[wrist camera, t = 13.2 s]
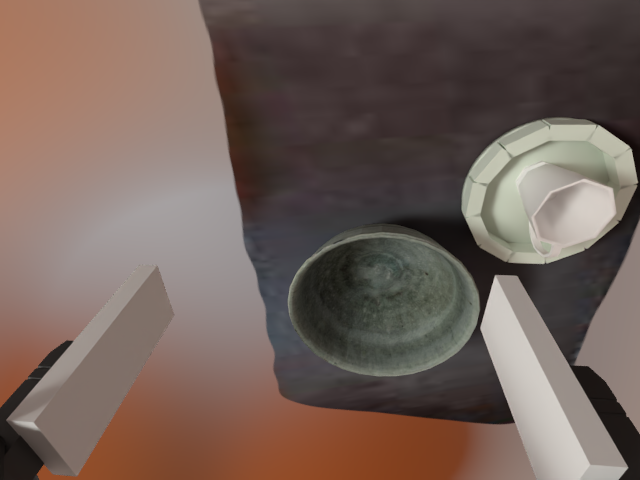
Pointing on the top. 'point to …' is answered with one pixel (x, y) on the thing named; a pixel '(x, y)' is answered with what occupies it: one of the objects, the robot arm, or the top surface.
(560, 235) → the cup
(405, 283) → the bowl
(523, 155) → the tray
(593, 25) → the top surface
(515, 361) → the robot arm
